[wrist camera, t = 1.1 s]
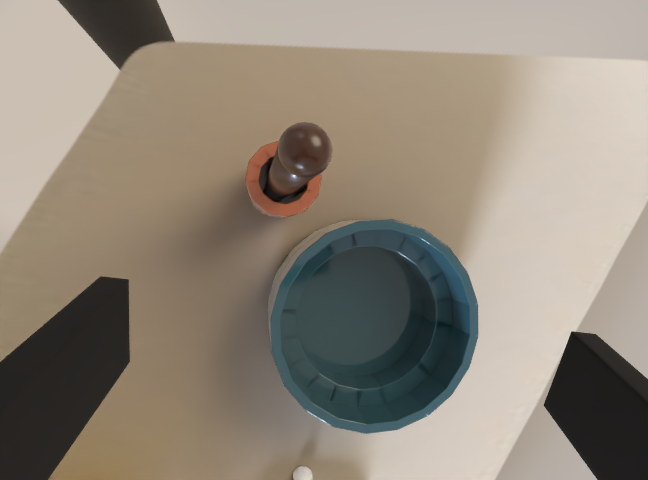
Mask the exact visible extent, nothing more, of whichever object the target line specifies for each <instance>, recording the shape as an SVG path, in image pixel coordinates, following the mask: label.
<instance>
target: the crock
mask: <svg viewBox="0 0 648 480" xmlns="http://www.w3.org/2000/svg"><path fill="white" fill-rule="evenodd" d="M278 143H279V141H277V142H274V143H271V144H268V145H265V146H262V147H261V148H260V149H259V150H258V151H257V153H256V154H255V155H254V156H253V157H252V158H251V160H250V161H249V163H248V169H247V174H246V180H245V181H246V187H247V191H248V194H249V197H250V200H251V202H252V204H253V206H254V207H255V208H257V209H258V210H259V211H260V212H261V213H263V214H264V215H267V216H272V217H278V218H280V217H289V216H292V215H295V214H297V213H300V212H303V211H305V210H306V209H307V208H308V207H309V206H310V205H311V204H312V202H313V201H314V200H315V199H316V198H317V196H318V194H319V188H320V183H321V173H320V174H319V175H317V176H316V177H314V178H313V179H311V180H310V181H309V182H307V183H306V184H304V185H303V186H301V187H300V188H299V189H297V190H296V191H294V192H293V193H291V194H290V195H289V196H287V197H286V198H284V199H282V200H273V199H271V198H270V197H269V196H268V195H267V194H266V192H265V183H266V180H267V177H268V174H269V171H270V168H271V165H272V162H273V158H274V155H275V152H276V149H277V146H278Z"/></svg>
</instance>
